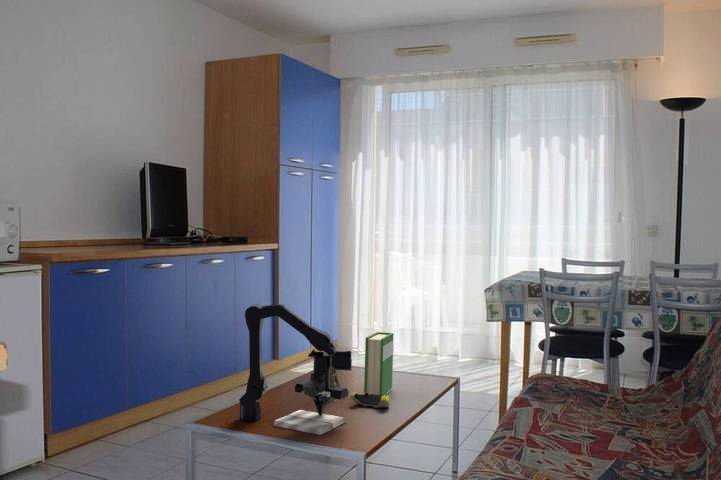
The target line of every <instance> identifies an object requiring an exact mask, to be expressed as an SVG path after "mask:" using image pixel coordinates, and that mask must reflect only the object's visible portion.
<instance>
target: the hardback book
mask: <svg viewBox="0 0 721 480" xmlns="http://www.w3.org/2000/svg"><path fill="white" fill-rule="evenodd" d="M394 334H395V333H393V332H380V331H376V332H374V333H372V334H370V335H368V336H366V337H365V349H364V381H363V383H364V384H363V394H364V393H366V392H367V393H368V394H369V395H370V394H375V395H381V396H384V395H385V394H386V393H387V392H388V391H389V390H390V389H391V388H392V389H393V372H394V371H393V367H394V366H393V364H394V361H393V360H394Z"/></svg>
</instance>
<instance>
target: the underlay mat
mask: <svg viewBox="0 0 721 480" xmlns="http://www.w3.org/2000/svg"><path fill="white" fill-rule="evenodd" d="M346 424H347V422H344V423H343V424H341V425H339V426H337V427H335V428H333V429H332V430H330V431H327V432H325V433H323V434H321V435H319V434H314V433H311V435H312V434H313V435H316V436H322V435H325V434H327V433H329V432H331V431H333V430H336V429H337V428H339V427H342V426H343V425H346ZM274 427H276V428H279V427H278V426H274ZM280 428H281V429H284V428H283V427H280ZM285 429H287V430H289V429H288V428H285ZM291 430H292V431H294V430H293V429H290V431H291ZM295 431H297V432H299V431H298V430H295ZM300 432H302V433H304V432H303V431H300ZM305 433H307V434H309V432H305Z"/></svg>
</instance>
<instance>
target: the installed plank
mask: <svg viewBox="0 0 721 480" xmlns="http://www.w3.org/2000/svg"><path fill="white" fill-rule="evenodd" d="M275 426H276V427H277V426H278V427H277V428H281V427H283V428H282V429H286V428H288V429H287V430H291V429H293V430H292V431H296V430H298V431H297V432H301V431H303V432H302V433H306V432H308V434H312V433H314V434H313V435H316V434H317V435H318V434H319V435H318V436H322V435H321V434H323V435H324V433H325V434H326V432H327V431H329V432H331V431H333V430H332V424H329V423H323V422H318V421H313V420H307V419H302V418H296V417H291V416H288V415H285V416H283V417H280V418H278V419H274V424H273V427H275ZM330 430H331V431H330ZM327 433H328V432H327Z"/></svg>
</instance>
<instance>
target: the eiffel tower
mask: <svg viewBox="0 0 721 480" xmlns="http://www.w3.org/2000/svg"><path fill="white" fill-rule="evenodd" d="M333 338H334V336H333V335H332V337H331V343H332V344H333V346H334V347H335V348H336V345H334V341H333ZM330 372H332V375H330V384H332V387H330V389H334V388H336V387H342V386H341V383H340V382H339V377H338V375H339V373H338V372H337V370H335V368H333V367H332V358H330ZM324 391H326V390H324ZM347 397H348V398H350V396H349V395H348V396H347ZM347 397H345V398H346V399H348V398H347ZM345 398H344V399H345ZM339 401H340V399H333V398H330V400H329V401H328V403H329V402H331V403H337V402H339Z"/></svg>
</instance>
